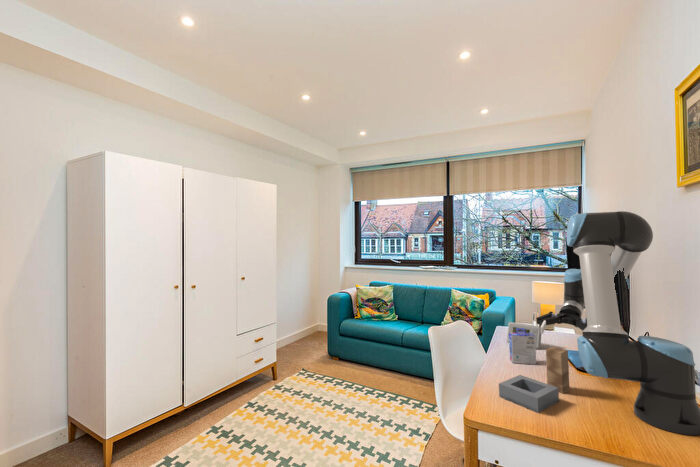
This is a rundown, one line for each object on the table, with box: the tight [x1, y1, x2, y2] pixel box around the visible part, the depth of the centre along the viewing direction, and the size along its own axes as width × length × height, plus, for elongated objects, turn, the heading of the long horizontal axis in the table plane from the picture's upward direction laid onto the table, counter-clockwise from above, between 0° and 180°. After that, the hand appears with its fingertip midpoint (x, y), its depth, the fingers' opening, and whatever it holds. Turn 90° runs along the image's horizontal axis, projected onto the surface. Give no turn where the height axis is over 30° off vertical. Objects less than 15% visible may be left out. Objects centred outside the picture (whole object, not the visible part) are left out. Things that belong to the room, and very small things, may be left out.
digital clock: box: [506, 321, 542, 350], centre depth 166 cm, size 16×9×11 cm, turn 31°
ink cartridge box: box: [508, 328, 537, 365], centre depth 143 cm, size 10×6×14 cm, turn 78°
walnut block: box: [545, 346, 570, 394], centre depth 116 cm, size 5×5×14 cm
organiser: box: [498, 374, 560, 414], centre depth 109 cm, size 13×13×4 cm
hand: (562, 334), depth 121 cm, fingers open, 13 cm apart
